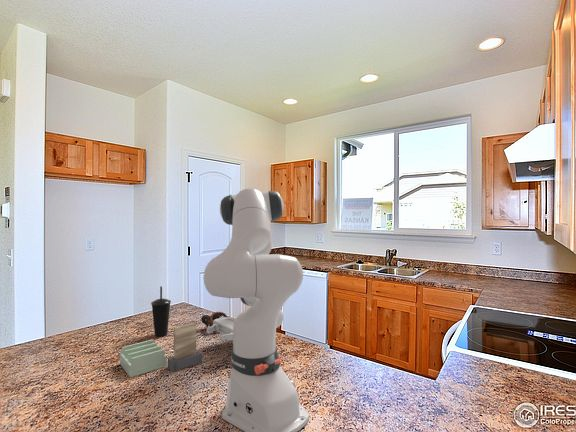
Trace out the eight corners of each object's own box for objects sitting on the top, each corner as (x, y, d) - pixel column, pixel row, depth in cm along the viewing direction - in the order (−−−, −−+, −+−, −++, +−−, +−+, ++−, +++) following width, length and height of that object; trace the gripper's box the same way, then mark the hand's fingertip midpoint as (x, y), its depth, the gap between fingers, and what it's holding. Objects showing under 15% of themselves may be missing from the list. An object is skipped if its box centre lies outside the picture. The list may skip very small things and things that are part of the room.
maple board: (196, 362, 105) (196, 323, 105) (175, 369, 101) (175, 328, 101) (194, 360, 107) (194, 322, 107) (173, 367, 102) (173, 327, 102)
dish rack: (166, 366, 103) (166, 349, 103) (130, 377, 95) (130, 359, 95) (154, 354, 112) (154, 338, 112) (120, 363, 104) (120, 347, 104)
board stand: (202, 362, 105) (202, 353, 105) (172, 372, 99) (172, 362, 99) (196, 357, 109) (196, 349, 109) (167, 367, 102) (167, 357, 102)
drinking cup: (146, 337, 127) (146, 287, 127) (159, 330, 135) (159, 284, 135) (162, 339, 125) (162, 289, 125) (174, 332, 132) (174, 285, 133)
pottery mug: (228, 325, 143) (231, 312, 139) (223, 341, 134) (226, 328, 131) (202, 319, 142) (205, 305, 139) (195, 335, 134) (198, 321, 130)
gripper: (232, 311, 128) (200, 318, 118) (262, 323, 112) (228, 333, 103) (232, 326, 127) (200, 335, 118) (262, 341, 112) (228, 352, 103)
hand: (213, 334), depth 111 cm, fingers open, 8 cm apart
